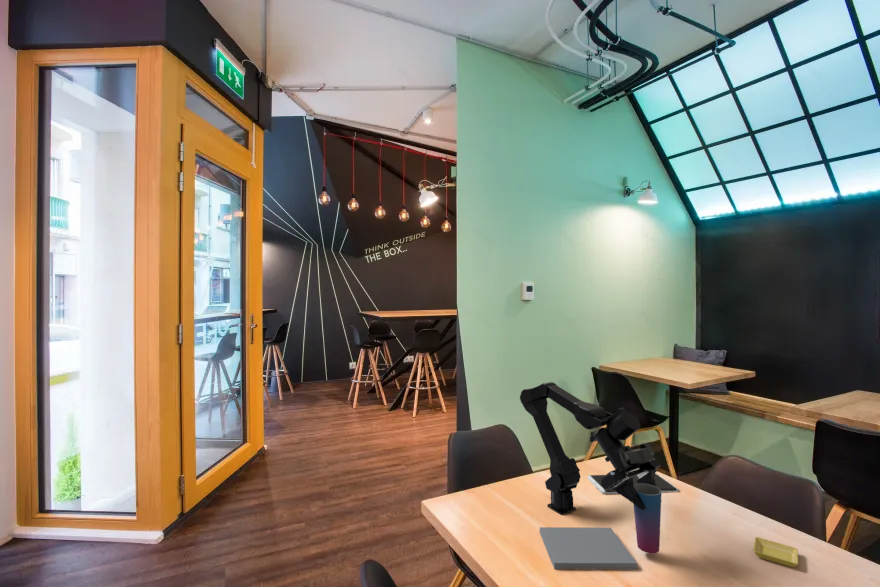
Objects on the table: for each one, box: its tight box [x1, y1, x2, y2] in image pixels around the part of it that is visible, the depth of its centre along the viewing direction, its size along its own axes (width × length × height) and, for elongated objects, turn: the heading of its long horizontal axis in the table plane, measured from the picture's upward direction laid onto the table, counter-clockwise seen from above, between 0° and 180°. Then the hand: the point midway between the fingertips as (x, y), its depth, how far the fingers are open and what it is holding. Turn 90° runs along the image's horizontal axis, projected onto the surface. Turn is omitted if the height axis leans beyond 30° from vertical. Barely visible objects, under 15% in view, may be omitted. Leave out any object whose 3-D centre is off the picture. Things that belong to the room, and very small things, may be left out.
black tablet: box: [587, 473, 680, 495], centre depth 148 cm, size 13×27×2 cm, turn 93°
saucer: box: [753, 536, 799, 568], centre depth 106 cm, size 9×9×2 cm
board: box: [539, 526, 638, 570], centre depth 109 cm, size 20×16×2 cm
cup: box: [633, 483, 662, 555], centre depth 107 cm, size 7×7×15 cm
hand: (652, 505), depth 105 cm, fingers closed on cup, 6 cm apart
